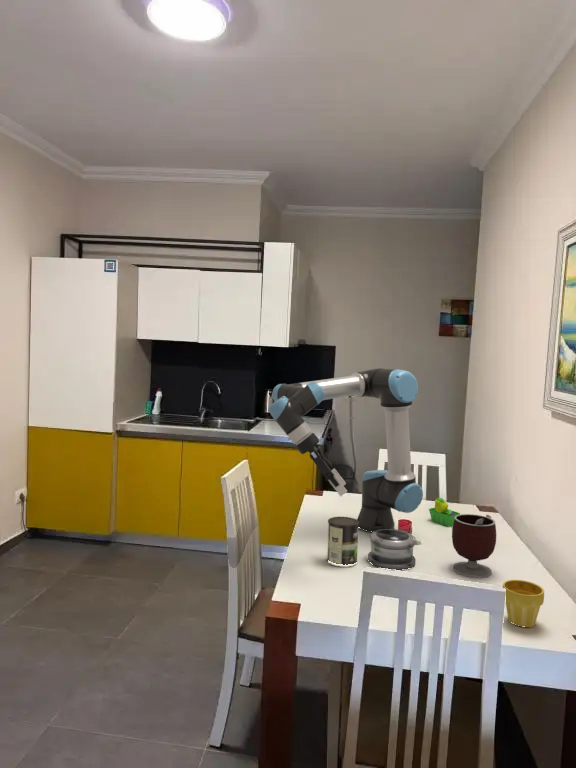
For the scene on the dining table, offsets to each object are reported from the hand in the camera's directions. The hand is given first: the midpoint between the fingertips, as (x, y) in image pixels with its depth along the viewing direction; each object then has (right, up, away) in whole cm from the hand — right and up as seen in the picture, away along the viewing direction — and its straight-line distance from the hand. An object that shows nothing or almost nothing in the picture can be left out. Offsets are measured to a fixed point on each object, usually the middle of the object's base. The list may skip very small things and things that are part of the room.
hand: (343, 489), depth 193 cm
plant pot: (+44, -29, -36) cm, 64 cm away
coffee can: (0, -25, +5) cm, 26 cm away
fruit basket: (+46, -24, +53) cm, 74 cm away
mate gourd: (+42, -27, 0) cm, 50 cm away
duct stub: (+17, -25, +6) cm, 31 cm away
